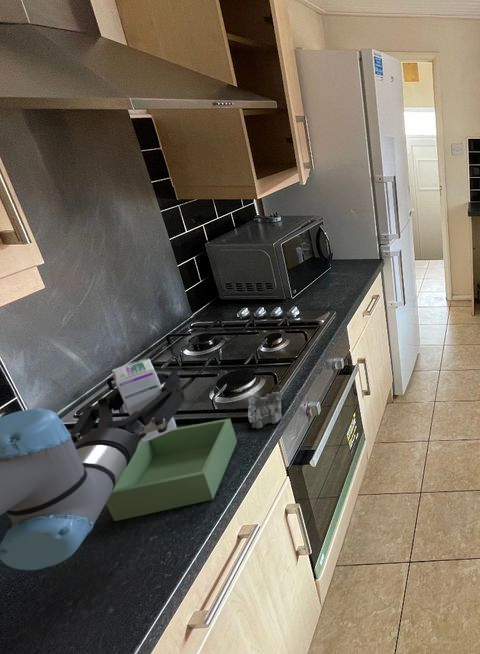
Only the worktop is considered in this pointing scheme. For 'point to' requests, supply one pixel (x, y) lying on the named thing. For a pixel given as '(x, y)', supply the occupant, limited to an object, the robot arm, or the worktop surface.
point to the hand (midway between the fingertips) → (152, 380)
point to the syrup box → (140, 389)
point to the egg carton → (264, 409)
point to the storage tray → (174, 470)
